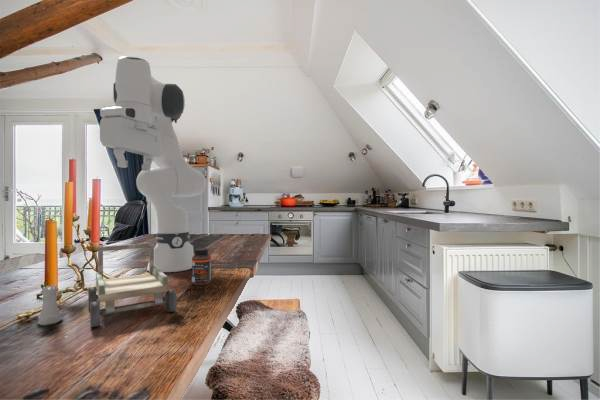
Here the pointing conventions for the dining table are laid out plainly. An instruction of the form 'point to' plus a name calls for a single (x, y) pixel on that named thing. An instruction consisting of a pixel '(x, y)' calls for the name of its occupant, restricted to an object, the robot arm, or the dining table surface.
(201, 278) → the supplement bottle
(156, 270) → the miniature garden bench
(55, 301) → the rook chess piece
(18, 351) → the dining table surface
